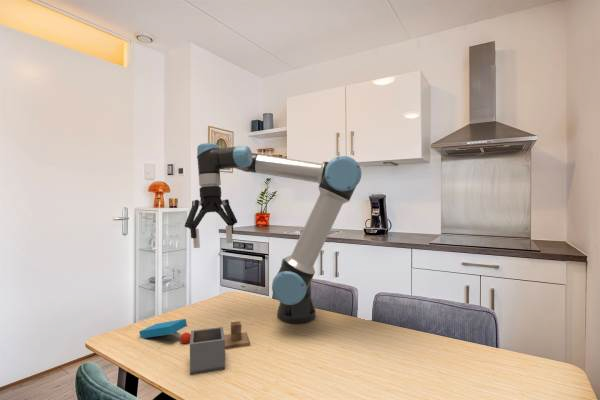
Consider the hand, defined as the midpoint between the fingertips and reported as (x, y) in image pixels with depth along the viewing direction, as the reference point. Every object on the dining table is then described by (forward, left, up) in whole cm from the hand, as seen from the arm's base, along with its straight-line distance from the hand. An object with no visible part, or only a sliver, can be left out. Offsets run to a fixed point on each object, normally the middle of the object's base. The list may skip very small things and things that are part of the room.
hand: (214, 245), depth 111 cm
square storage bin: (+3, +24, -30) cm, 38 cm away
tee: (-6, +13, -30) cm, 33 cm away
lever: (+15, +4, -30) cm, 34 cm away
